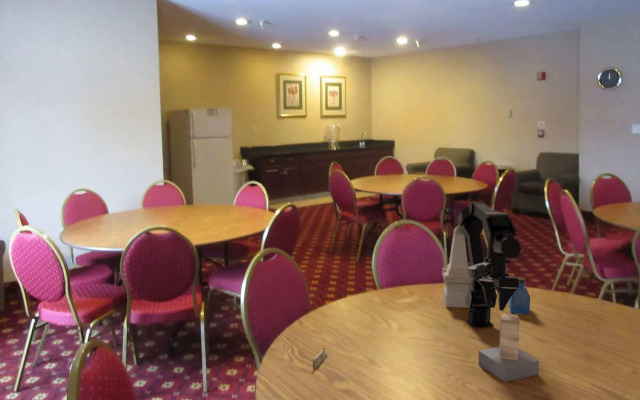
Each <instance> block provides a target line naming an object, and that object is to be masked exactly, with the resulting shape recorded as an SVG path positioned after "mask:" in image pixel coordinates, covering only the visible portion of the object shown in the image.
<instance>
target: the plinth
mask: <svg viewBox="0 0 640 400" xmlns="http://www.w3.org/2000/svg"><path fill="white" fill-rule="evenodd" d="M478 366H480V367H482V368H483V369H485V370H486V371H487V372H490V373H491V374H492V375H494V376H495V377H496V378H498V379H499V380H501V381H502V382H504V383H508V382H512V381H516V380H521V379H525V378H530V377H533V376H538V375H539V371H540V360H539V359H537V358H536V357H534V356H533V355H530V354H528V352H527V353H526V352H525V351H524V350H521V349H520V348H519V349H518V360H512V359H501V358H500V353H499V346H496V347H495V346H494V347H490V348H486V349H481V350H478Z"/></svg>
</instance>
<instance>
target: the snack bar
mask: <svg viewBox="0 0 640 400" xmlns="http://www.w3.org/2000/svg"><path fill="white" fill-rule="evenodd" d="M327 357H328V354H327V352H326V351H325V347H324V346H323V347H322V349H321V350H320V352H319V353H318V354H316V356H315V357H314V358H313V359H311V360H312V361H311V362H312V369H313V371H315V370H316V369H318V367H319V366H320V365H321V364H322V363H323V362H324V360H325V359H326V358H327Z"/></svg>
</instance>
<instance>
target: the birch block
mask: <svg viewBox="0 0 640 400" xmlns="http://www.w3.org/2000/svg"><path fill="white" fill-rule="evenodd" d="M499 321H500V323H499V346H498V347H499V353H500V358H501V359H512V360H518V349H520V347H519V345H520V343H519V342H520V323H521V322H520V318H519V315H518V314H514V313H510V314H509V313H500V319H499Z"/></svg>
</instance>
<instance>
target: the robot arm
mask: <svg viewBox="0 0 640 400" xmlns="http://www.w3.org/2000/svg"><path fill="white" fill-rule="evenodd" d="M457 225H459V226H460V229H461V232H462V233H463V235H464V236H465V239H466V243H467V249H468V251H467V252H468V255H469V262H470V263H469V264H470V266H468V267H467V269H468V273H469V276H470V278H472V281H471V284H470V286H469V292H468V293H467V295H466V297H465V302H466V305H467V306H468V307H469V309H468V310H467V311H468V313H467V314H468V315H467V319H466V323H468V324H469V325H472V326H473V327H475V328H477V329H478V328H479V329H480V328H485V327H491V326H494V323H493V322H491V311H492V310H491V308H492V309H495V307H496V304H497V301H498V309H499V311H504V310H505V308H506V307H507V305H508V304H509V300H510V298H511V296H512V295H513V293H514V292H515V290H517V288H520V281H519V280H518V279H517V278H516V277H515V276H513V275H512V276H511V275H510V273H508V272H507V271H508V270H507V269H508V264H510V263H511V262H510V261H511V260H510V259H514V258H517V257H518V256H519V255H520V253H521V251H522V245H521V243H520V242H519V241H518V240H517V239H516V238H514V237H516V236H517V229H516V227H515V225H514V223H513V220H512V218H511V217H510V215H509V214H508V212H500V211H495V210H493V209H492V208H491V207H490V206H489V205H487V204H486V202H484V201H473V202H469V203H468V205H467V206H466V207H464V208H463V209H462V210H461V211H460V212H459V214H458V217H457ZM483 230H484V231H485V233H486V235H487V254H486V256H484V250H483V249H484V248H483V244H482V243H483V242H482V237H481V235H482V232H483ZM497 299H498V300H497Z"/></svg>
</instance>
